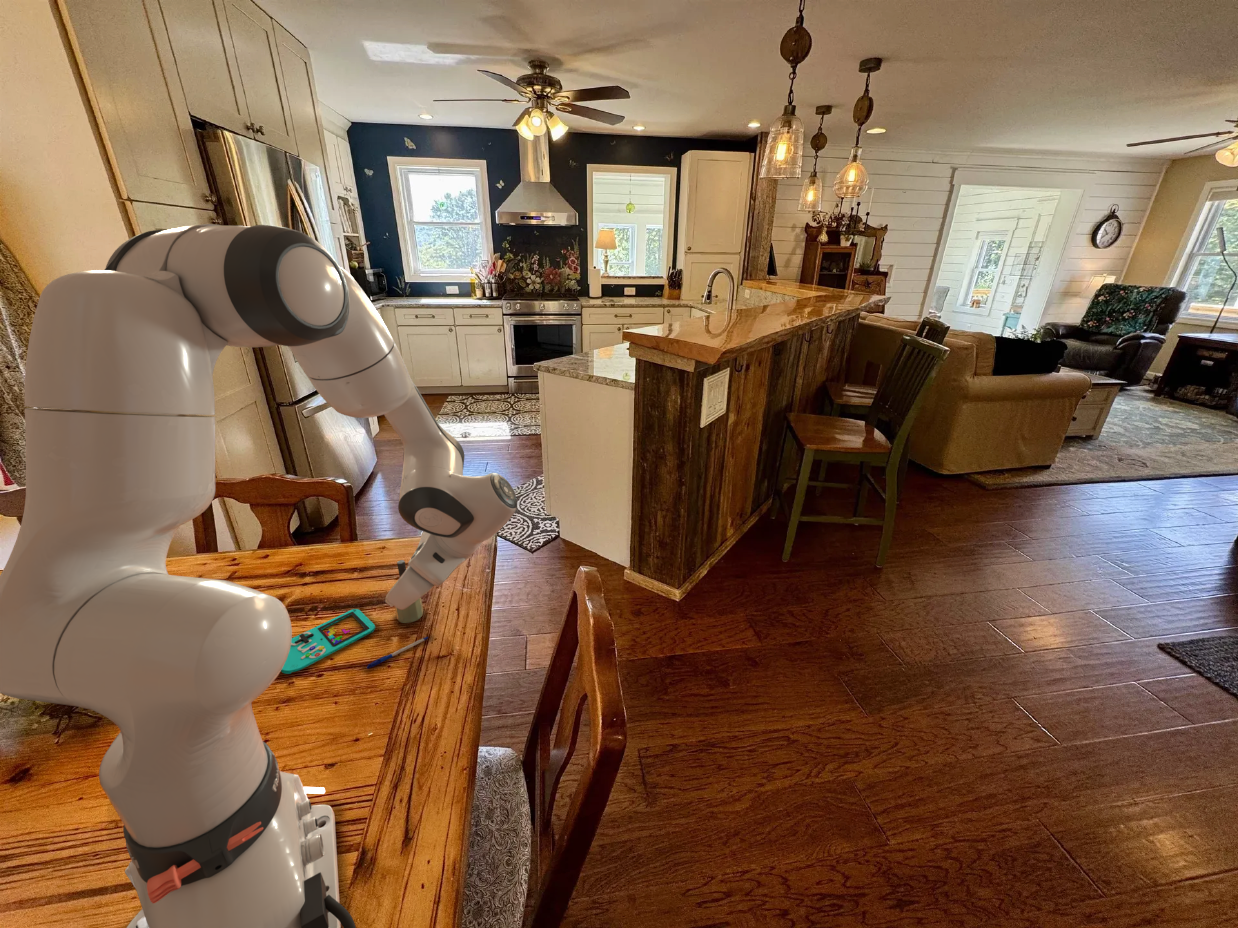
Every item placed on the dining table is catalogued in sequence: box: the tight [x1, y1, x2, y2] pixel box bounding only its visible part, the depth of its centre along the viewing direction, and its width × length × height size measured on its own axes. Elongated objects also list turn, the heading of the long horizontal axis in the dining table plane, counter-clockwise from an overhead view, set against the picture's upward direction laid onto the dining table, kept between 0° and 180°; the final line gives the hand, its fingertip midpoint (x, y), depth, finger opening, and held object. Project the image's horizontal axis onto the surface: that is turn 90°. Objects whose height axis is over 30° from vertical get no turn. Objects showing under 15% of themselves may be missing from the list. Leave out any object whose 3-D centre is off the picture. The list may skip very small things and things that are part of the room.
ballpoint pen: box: [366, 636, 429, 669], centre depth 85 cm, size 10×1×1 cm, turn 136°
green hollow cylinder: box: [394, 597, 424, 624], centre depth 93 cm, size 5×5×4 cm
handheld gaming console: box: [280, 608, 376, 675], centre depth 87 cm, size 8×1×15 cm
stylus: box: [396, 559, 407, 578], centre depth 92 cm, size 1×1×12 cm
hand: (402, 585), depth 91 cm, fingers open, 8 cm apart
